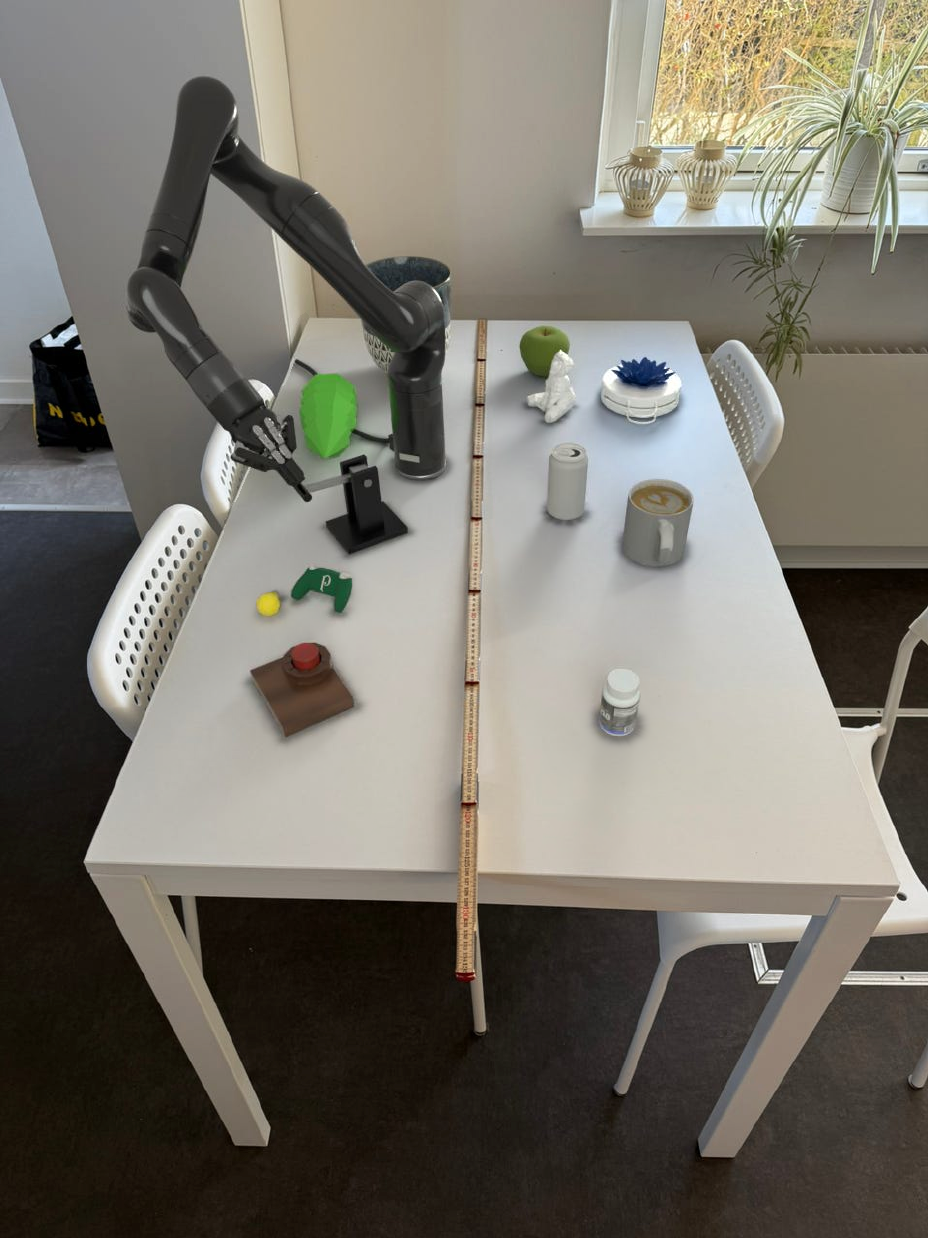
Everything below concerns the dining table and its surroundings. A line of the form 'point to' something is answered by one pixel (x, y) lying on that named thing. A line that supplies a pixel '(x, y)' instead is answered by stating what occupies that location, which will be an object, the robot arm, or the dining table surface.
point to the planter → (396, 275)
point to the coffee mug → (657, 522)
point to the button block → (301, 691)
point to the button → (305, 656)
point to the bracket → (364, 511)
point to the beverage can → (567, 481)
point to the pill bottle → (619, 702)
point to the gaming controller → (324, 585)
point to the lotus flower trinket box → (641, 389)
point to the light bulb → (269, 603)
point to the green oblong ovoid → (328, 414)
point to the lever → (326, 483)
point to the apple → (542, 348)
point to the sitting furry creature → (556, 389)
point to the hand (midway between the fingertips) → (299, 483)
